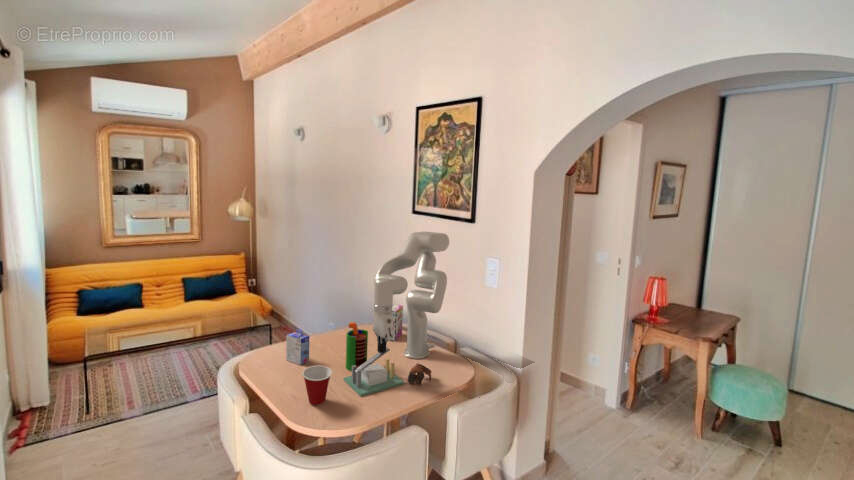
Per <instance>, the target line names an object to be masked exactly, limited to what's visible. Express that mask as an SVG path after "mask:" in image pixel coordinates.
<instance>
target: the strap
mask: <svg viewBox="0 0 854 480" xmlns="http://www.w3.org/2000/svg"><path fill="white" fill-rule="evenodd" d="M390 350H391V349H390V348H389V347H387V346H386V352H382V353H379V352H378V351H377V353H375V354H374V355H373V356H372V357H370V358H369V359H367V361H366V362H365V363H363V364H362V365H360V366H359V367H358V368H356V369H354V372H355V373H356V370H358V369H360V370H361V371H362V370H363V369H365V368H366V367H368V366H369V365H373V364H374V362H376V361H377V360H379V359H380V358H381V357H382V356H384V355H385V354H387V353H388V352H389V351H390Z"/></svg>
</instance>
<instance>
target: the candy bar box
mask: <svg viewBox="0 0 854 480" xmlns="http://www.w3.org/2000/svg"><path fill="white" fill-rule="evenodd" d="M392 314H393V323H394V335H393V337H391V336H390V341H389V342H391V341H392V342H396V341H397V340H398V339H399V338H400V337H401V336H402V335H403V319H404V318H403V317H404V316H403V315H404V305H399V304H395V305H394V304H393V306H392Z"/></svg>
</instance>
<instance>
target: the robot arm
mask: <svg viewBox="0 0 854 480" xmlns="http://www.w3.org/2000/svg"><path fill="white" fill-rule="evenodd" d="M449 246H450V238H449V235H448V234H446V233H442V232H434V231H417V232H416V231H415V232H411V233H410V235H409V236H408V237H407V239H406V241H405V244H404V245H403V247H402V248H401V249H400V252H399V254H397V255H396V256H393V257H392V258H391V259H389V260H387V261H386V262H385V263H383V264H382V265H381V266H380V268H379V270H378V271H377V273H376V275H375V278H374V293H373V294H374V297H373V302H374V303H373V318H372V331H373V333H374V335H375V336H376V340H377V341H376V342H377V349H376V350H377V353H378V352H379V353H382V352H386V347H387V343H388V342H391V341H390V336H391V337H393V335H394V323H393V314H392V307H393V306H394V304H393V303H394V302H393V299H394V295H401V294H404V293H405V292H406V291H407V290H408V286H409V285H408V281H407V279H406V278H405V277H404V276H401V275H394V273H395V272H397V271H402V270H405V269H409V268H412V267H414V266H415V265H416V263H417V267H416V270H415V275H414V280H413V281H414V285H415V286H416V287H418V288H420V289H421V290H420V289H412V290H410V291H408V292H407V294H406V296H405V303H406V310H407V311H406V312H407V325H406V327H407V328H406V330H407V332H406V333H407V334H406V348H404V350H403V355H404V356H405V357H407V358H409V359H413V360H415V359H416V360H419V359H420V360H421V359H422V360H423V359H425V358H428V357H429V356H430V349H432V348H435V346H436V345H435V343H434V342H433V343H429V342H428V341H427V340H428V317H427V314H426V313H431V314H438V313H439V312H440V311H441V309H442V306H443V303H444V298H445V293H446V289H447V285H448V277H447V273H445V272H444V271H442V270H438V269H436V264H437V258H436V255H435V253H441V252H445V251H446V250H447V249H448V248H449ZM423 289H426V290H423ZM427 290H431V291H427ZM427 356H428V357H427Z"/></svg>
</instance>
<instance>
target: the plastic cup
mask: <svg viewBox="0 0 854 480" xmlns="http://www.w3.org/2000/svg"><path fill="white" fill-rule="evenodd" d="M301 375H302V377H303V380H304V383H305V387H306V388H305V389H306V395H307V398H308V403H309V404H311V405H312V406H318V405H319V406H320V405H323V404H325V402H326V398H327V397H326V396H327V393H328V387H329V384H330V383H329V381H330V379H331V376H332V375H333V370H332V369H331V368H330V367H328V366H325V365H312V366H308V367H306V368H304V369H303V371H302V374H301Z"/></svg>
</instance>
